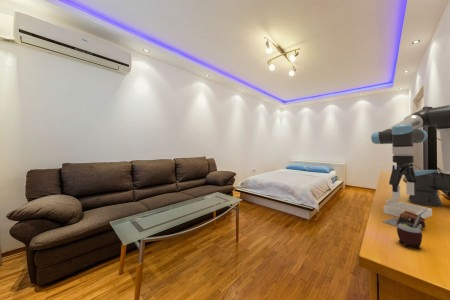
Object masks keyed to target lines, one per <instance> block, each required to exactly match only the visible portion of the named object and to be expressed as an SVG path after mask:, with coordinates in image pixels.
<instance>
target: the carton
mask: <svg viewBox="0 0 450 300" xmlns="http://www.w3.org/2000/svg"><path fill="white" fill-rule="evenodd" d="M424 210H427V211H426V212H424V213H423V214H421V217H422V218H424V219H425V220H426V219H427V218H430V217H433V208H430V207H427V206H425V207H424V206H422V205H418V204H413V203H407V202H403V201H402V202H401V201H399V199H397V198H390V199H386V205H383V214H387V215H390V216H393V217H394V216H395V217H396V218H397V217H398V218H399V216H400V214H401V213H404V211H408V212H411V213H414V214H416V215H418V214H420V213H421V212H423V211H424ZM409 220H411V219H410V218H409Z"/></svg>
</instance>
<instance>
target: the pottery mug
mask: <svg viewBox="0 0 450 300" xmlns="http://www.w3.org/2000/svg"><path fill="white" fill-rule="evenodd" d="M411 212H412V211H409V212H408V210H405V211H404V213H401V214H400V216H399V217H398V219H399V220H397V223H396V224H398V225H399V224H400V223H409V224H413V225H414V224H415V222H416V219H417V217H418V215H416V214H414V213H415V212H413V213H411ZM409 218H410V219H411V220H409ZM425 221H426V218H425V219H424V218H422V217H420V218H419V220H418V222H417V225H416V226H417V227H418V226H419V225H422V229H425V228H426V227H425V226H426V222H425Z"/></svg>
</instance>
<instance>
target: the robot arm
mask: <svg viewBox="0 0 450 300" xmlns="http://www.w3.org/2000/svg"><path fill="white" fill-rule="evenodd" d="M427 127H434V128H435V130H437V132H439V137H440V146H441V155H442V156H441V157H442V167H443V168H442V169H441V170H440V171H438V170H437V169H420V170H419V169H417V170H414V164H413V163H414V161H415V159H414V158H415V157H414V154H415V153H414V149H415V148H414V144H419V143H423V142H425V141H426V140H427V139H428V136H429V135H428V132H427V131H425V129H420V128H427ZM370 137H371V139H370V140H371V142H372V143H373V144H374V145H391V144H392V148H391V151H392V163H395V164H392V167H391V168H392V169H391V174H390V177H389V182H388V184H389V185H391V190H392V191H391V192H392V194H391V195H392V197H391V199H394V198H397V199H398V200H400V199H401V185H400V182H401V181H402V178H403V176H404V177H405V180H406V181H405V182H406V183H405V184H406V185H405V186H406V189H405V190H406V191H405V192H406V195H409V196H408V202H410V204H413V205H418V206H423V207H424V206H425V207H435V208H439V207H442V206H443V202H442V200H441V198H440V195H439V191H441V192H446V193H447V192H448V193H450V104H448V105H444V106H443V105H442V106H438V107H429V108H424V109H422V110H419V111H416V112H413V113H411V114H409V115H407V116H405V117H404V118H403V120H401V121H399V122H397V123H396V124H394V125H392V126H390V127H388V128H386V129H384V130H383V131H375V132H373V133H372V134H371V136H370Z"/></svg>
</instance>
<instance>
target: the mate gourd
mask: <svg viewBox="0 0 450 300" xmlns="http://www.w3.org/2000/svg"><path fill="white" fill-rule="evenodd" d="M426 211H427V210H424V211H423V212H421V213H420V214H418V217H417V219H416V222H415V224H414V225H413V224H409V223H400V224H399V225H398V227H397V226H396V233H397V236H398V239H399V240H398V242H399V243H400V244H401V243H402V244H404V245H403V247H404V248H409V247H412V248H415V249H418V250H421V244H422V239H423V234H422V230H421V229H419V227H417V226H416V225H417V222H418V220H419V218H420V217H421V214H423V213H424V212H426Z"/></svg>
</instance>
